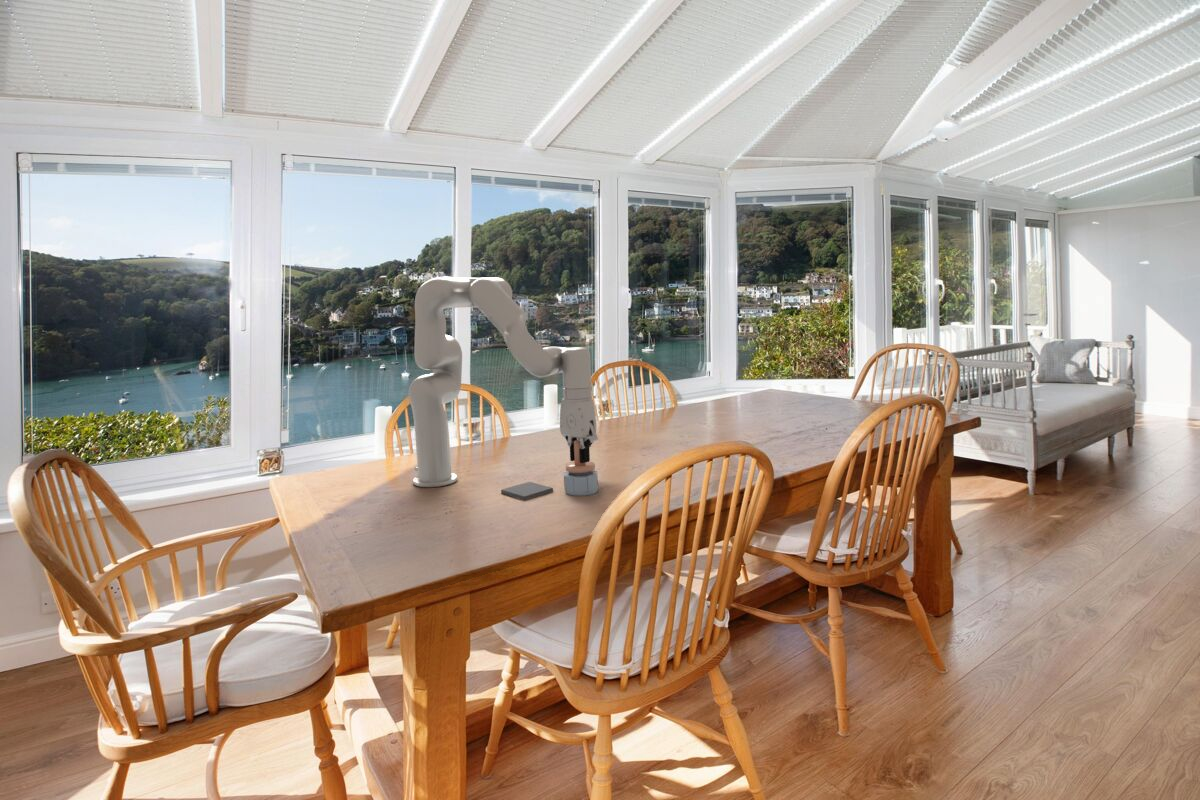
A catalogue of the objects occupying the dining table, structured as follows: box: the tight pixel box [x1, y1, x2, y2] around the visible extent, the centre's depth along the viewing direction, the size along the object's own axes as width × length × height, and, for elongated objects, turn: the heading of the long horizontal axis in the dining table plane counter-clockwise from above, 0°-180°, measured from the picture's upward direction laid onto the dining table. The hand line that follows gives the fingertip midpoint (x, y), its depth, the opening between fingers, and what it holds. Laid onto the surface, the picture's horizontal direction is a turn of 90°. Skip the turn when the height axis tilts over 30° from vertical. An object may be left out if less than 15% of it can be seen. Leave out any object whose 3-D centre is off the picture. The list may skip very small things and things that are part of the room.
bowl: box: [563, 469, 599, 497], centre depth 185 cm, size 9×9×5 cm
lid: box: [564, 440, 596, 473], centre depth 184 cm, size 8×8×8 cm
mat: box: [500, 481, 554, 501], centre depth 186 cm, size 10×10×1 cm
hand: (580, 460), depth 184 cm, fingers closed on lid, 3 cm apart
